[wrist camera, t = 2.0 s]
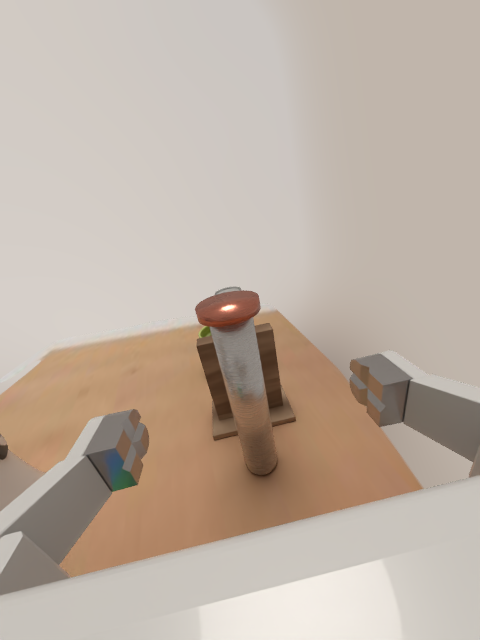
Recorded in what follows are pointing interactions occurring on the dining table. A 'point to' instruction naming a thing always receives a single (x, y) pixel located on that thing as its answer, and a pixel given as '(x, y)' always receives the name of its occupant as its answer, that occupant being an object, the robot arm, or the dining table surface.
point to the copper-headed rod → (242, 372)
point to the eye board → (220, 403)
